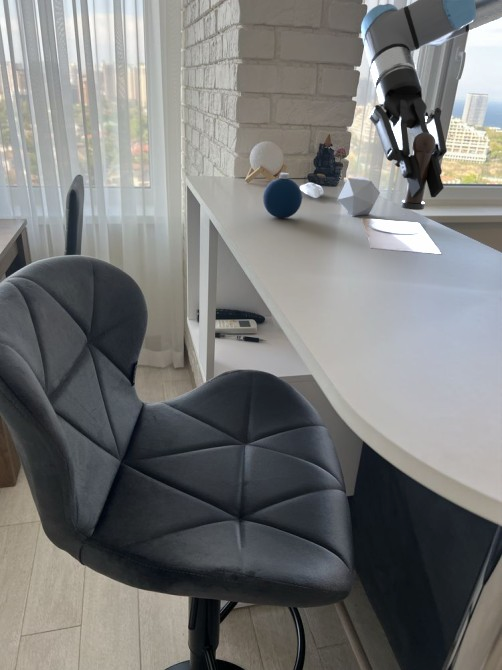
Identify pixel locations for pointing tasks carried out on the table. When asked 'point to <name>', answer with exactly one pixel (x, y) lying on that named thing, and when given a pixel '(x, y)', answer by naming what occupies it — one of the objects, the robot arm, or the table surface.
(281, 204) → the christmas ornament
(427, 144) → the dot stamp
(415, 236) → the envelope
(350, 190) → the die
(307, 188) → the pincushion
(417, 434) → the table surface
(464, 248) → the table surface
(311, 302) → the table surface
